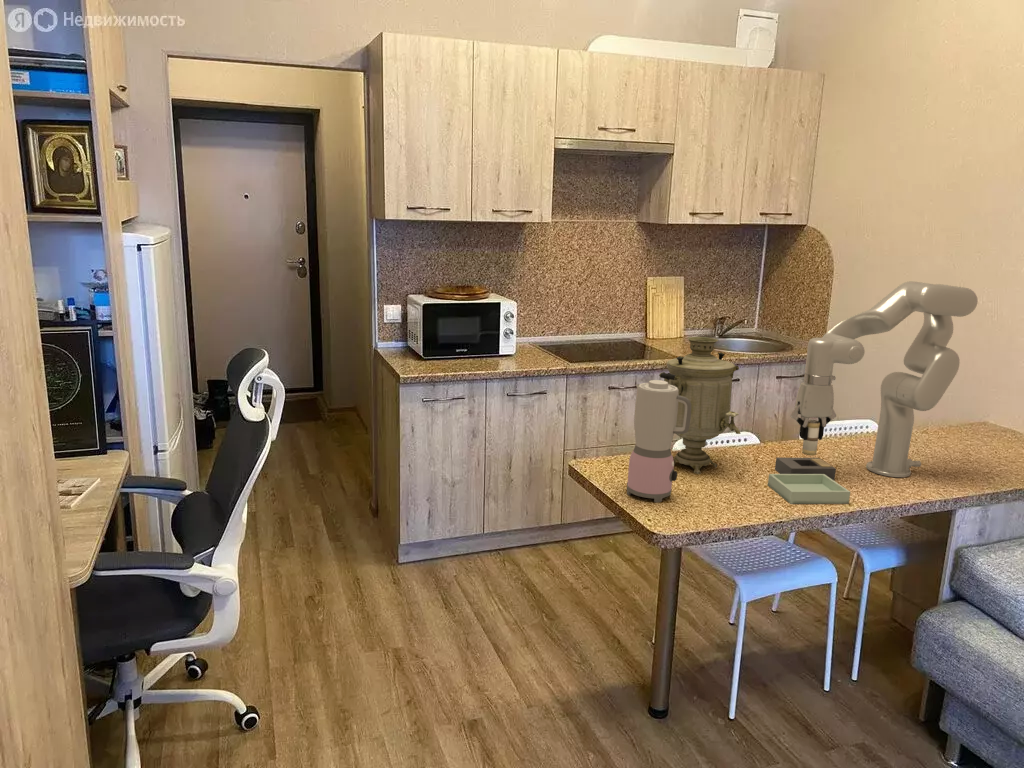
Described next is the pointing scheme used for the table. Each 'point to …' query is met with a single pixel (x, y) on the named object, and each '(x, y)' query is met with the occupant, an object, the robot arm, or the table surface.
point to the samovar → (702, 398)
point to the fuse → (811, 438)
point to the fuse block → (804, 466)
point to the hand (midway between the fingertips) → (810, 438)
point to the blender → (655, 439)
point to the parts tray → (808, 489)
